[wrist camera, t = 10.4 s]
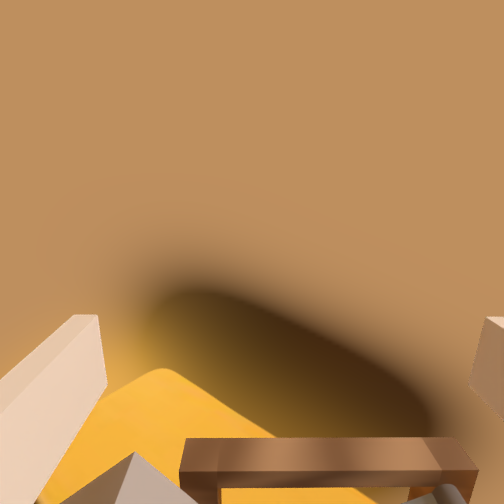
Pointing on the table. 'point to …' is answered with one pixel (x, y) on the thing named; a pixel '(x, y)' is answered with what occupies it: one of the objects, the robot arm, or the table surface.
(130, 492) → the granite block
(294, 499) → the table surface
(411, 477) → the trapdoor frame
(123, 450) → the table surface
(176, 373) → the table surface
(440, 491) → the flap
